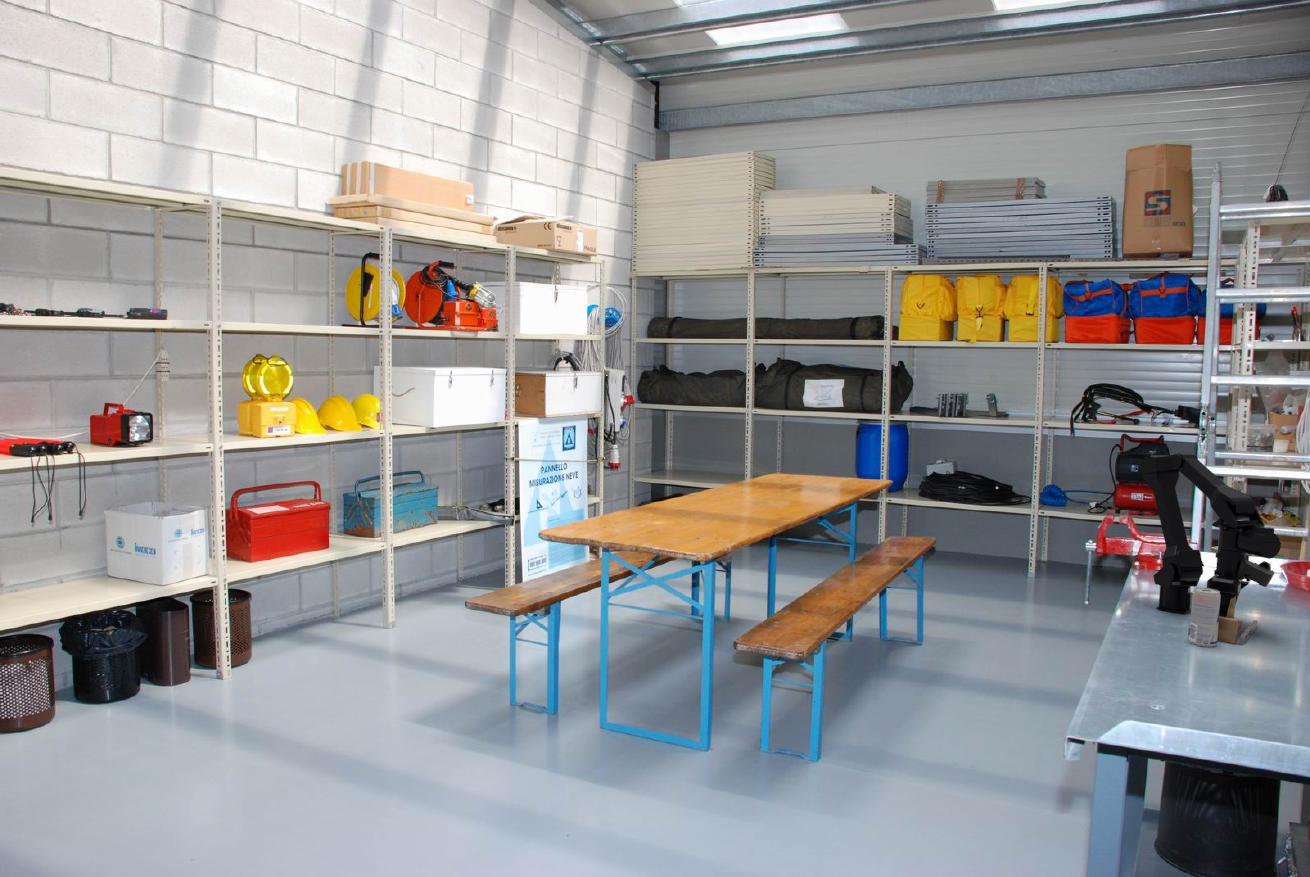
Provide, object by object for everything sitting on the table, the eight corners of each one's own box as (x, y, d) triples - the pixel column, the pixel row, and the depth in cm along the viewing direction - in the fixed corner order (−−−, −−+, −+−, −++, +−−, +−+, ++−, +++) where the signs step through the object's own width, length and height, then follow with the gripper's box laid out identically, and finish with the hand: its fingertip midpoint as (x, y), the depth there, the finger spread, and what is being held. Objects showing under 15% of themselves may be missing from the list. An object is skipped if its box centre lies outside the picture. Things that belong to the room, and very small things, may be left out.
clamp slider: (1194, 636, 220) (1197, 602, 219) (1207, 622, 231) (1210, 590, 231) (1235, 643, 215) (1238, 608, 214) (1246, 629, 226) (1249, 596, 225)
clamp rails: (1188, 635, 222) (1188, 628, 221) (1205, 618, 236) (1206, 612, 236) (1242, 645, 215) (1243, 638, 215) (1257, 627, 229) (1257, 620, 229)
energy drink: (1215, 642, 217) (1219, 589, 215) (1218, 648, 212) (1222, 594, 211) (1188, 638, 219) (1192, 586, 218) (1190, 645, 214) (1194, 591, 213)
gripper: (1266, 561, 214) (1260, 630, 215) (1279, 548, 228) (1273, 613, 229) (1208, 553, 221) (1203, 620, 222) (1224, 541, 235) (1219, 605, 236)
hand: (1226, 615), depth 227 cm, fingers open, 9 cm apart
